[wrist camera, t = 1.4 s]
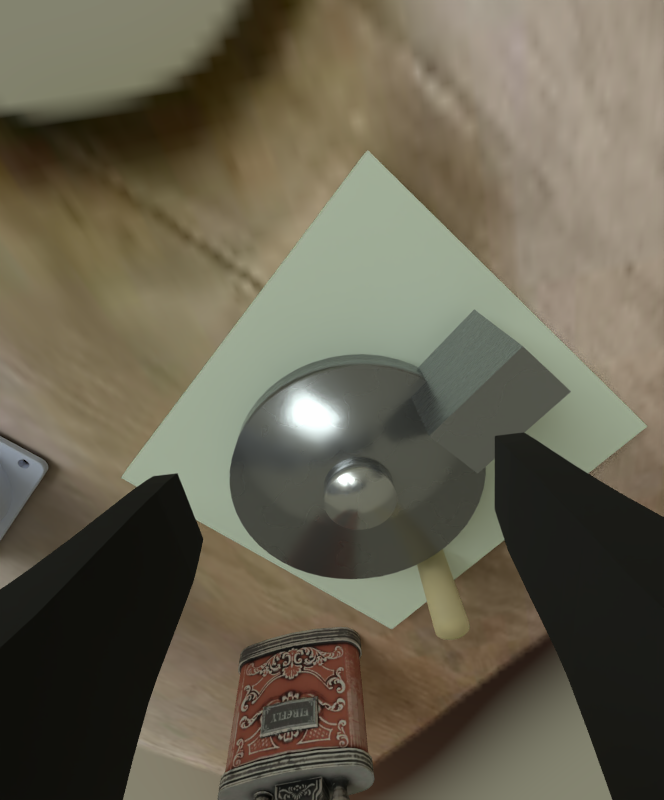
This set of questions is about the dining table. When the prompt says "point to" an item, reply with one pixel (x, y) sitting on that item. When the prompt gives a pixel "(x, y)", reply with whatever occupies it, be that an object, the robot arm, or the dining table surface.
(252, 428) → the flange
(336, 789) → the lighter
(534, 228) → the dining table surface
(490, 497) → the board
